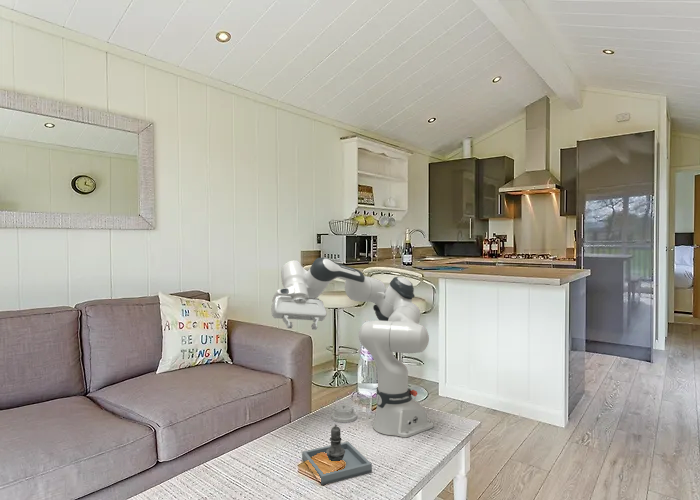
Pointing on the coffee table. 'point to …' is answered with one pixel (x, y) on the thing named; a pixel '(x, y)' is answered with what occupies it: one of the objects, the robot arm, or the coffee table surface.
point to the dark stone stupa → (335, 445)
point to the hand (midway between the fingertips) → (302, 328)
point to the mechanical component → (344, 413)
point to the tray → (353, 468)
